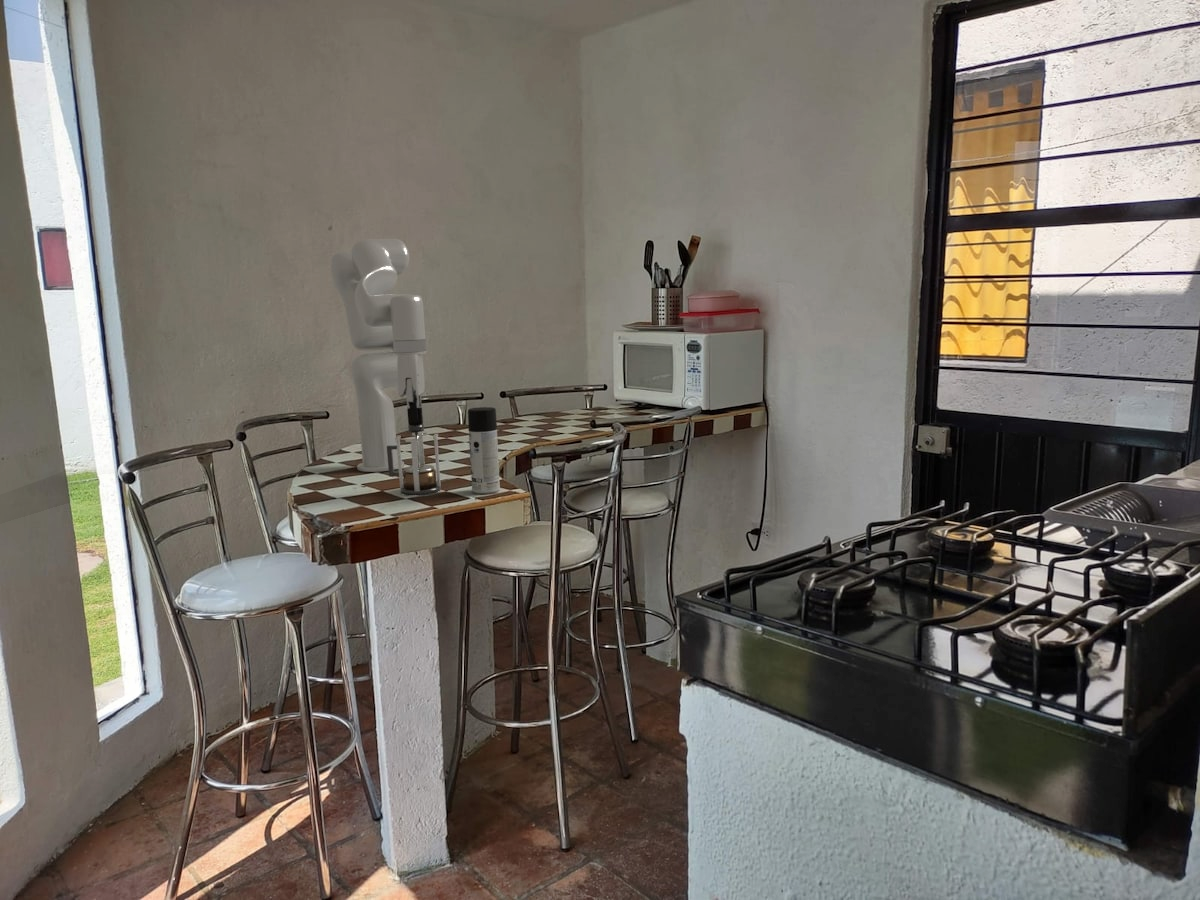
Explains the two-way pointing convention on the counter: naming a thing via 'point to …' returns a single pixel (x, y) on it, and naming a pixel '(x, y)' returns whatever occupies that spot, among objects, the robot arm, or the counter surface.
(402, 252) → the robot arm
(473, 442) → the spray can
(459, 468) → the counter surface
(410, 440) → the cafetera
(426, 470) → the coffee press plunger
